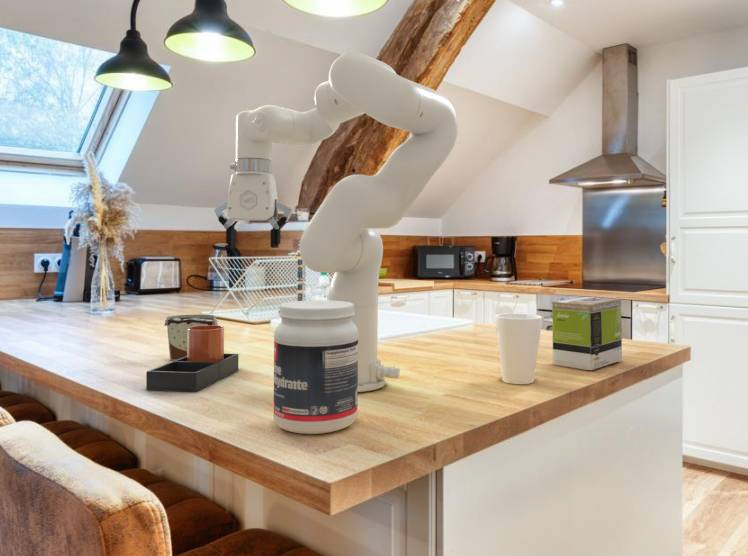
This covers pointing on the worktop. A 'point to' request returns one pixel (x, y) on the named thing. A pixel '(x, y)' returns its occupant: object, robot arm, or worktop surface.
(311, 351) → the supplement tub
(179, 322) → the food container
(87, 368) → the worktop surface
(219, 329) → the cup
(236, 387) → the worktop surface
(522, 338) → the foam cup
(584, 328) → the tea box
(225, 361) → the holder
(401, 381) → the worktop surface
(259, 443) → the worktop surface
